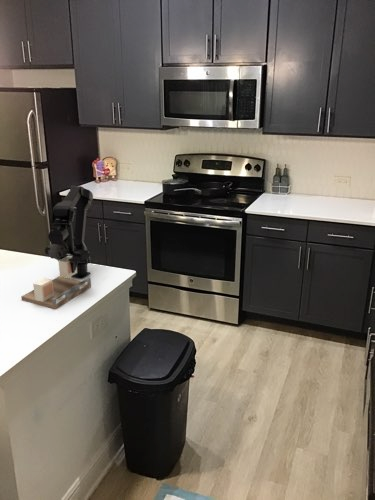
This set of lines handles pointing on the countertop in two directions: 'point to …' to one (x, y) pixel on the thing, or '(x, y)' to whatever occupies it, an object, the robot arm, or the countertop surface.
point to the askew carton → (66, 267)
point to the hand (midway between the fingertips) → (68, 271)
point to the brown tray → (61, 292)
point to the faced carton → (43, 289)
